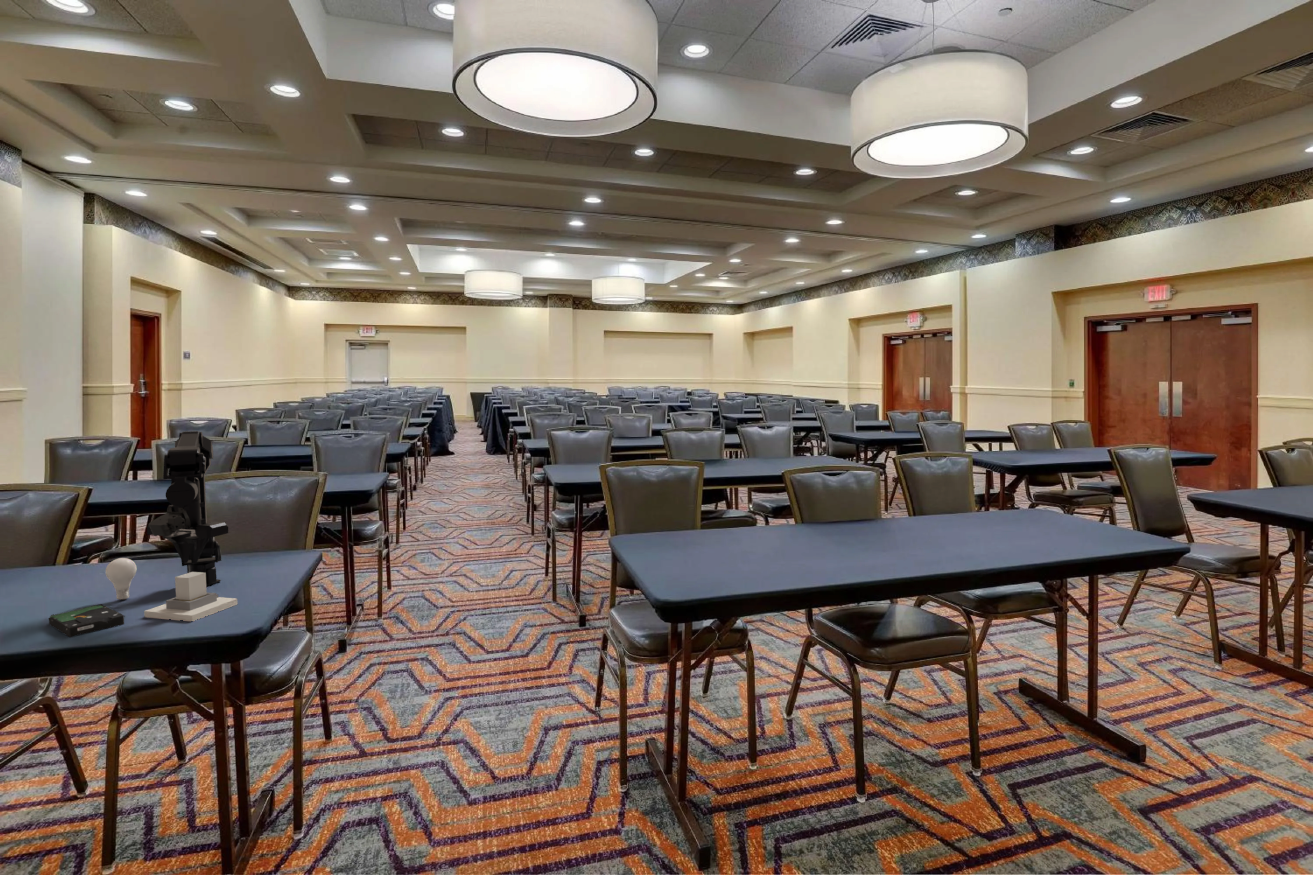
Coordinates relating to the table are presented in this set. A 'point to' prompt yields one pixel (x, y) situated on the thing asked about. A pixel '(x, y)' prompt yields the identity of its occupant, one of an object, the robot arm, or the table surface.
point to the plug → (190, 586)
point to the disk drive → (86, 620)
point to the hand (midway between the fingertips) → (189, 562)
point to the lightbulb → (121, 576)
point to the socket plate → (191, 608)
